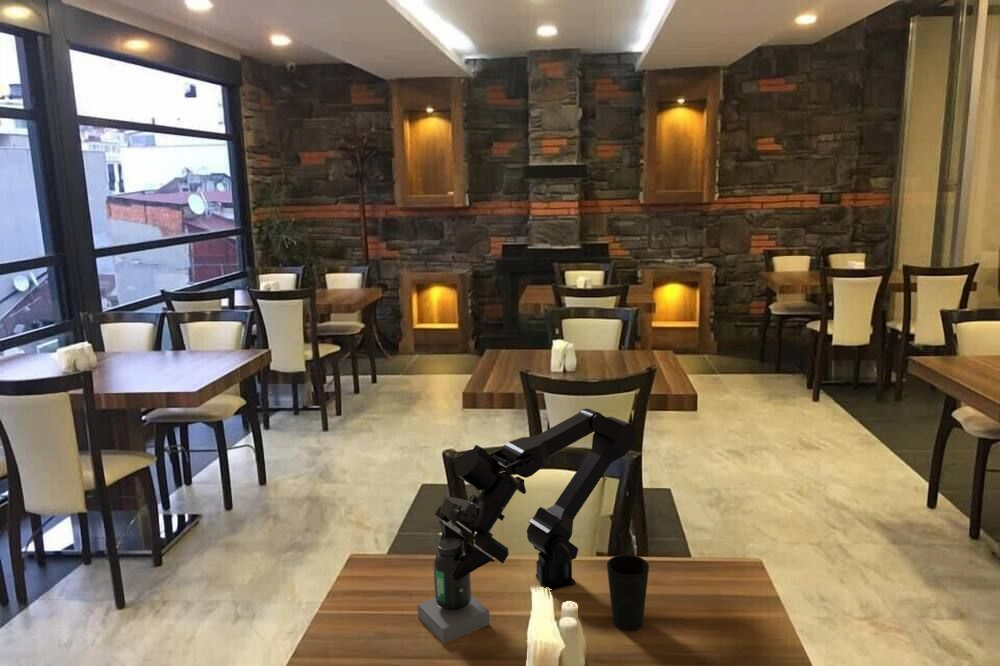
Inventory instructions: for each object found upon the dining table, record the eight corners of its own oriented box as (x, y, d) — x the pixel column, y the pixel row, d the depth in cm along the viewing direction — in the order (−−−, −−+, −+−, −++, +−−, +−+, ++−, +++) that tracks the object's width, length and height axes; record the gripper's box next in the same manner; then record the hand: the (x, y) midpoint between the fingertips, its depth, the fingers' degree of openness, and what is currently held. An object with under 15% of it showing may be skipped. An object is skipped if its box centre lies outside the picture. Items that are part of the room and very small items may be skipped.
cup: (648, 636, 136) (648, 577, 134) (606, 632, 138) (605, 573, 135) (648, 612, 144) (649, 555, 141) (608, 609, 145) (608, 553, 143)
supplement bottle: (440, 614, 138) (437, 556, 135) (431, 595, 144) (428, 538, 142) (476, 606, 140) (473, 548, 138) (465, 587, 147) (462, 531, 144)
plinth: (462, 600, 150) (462, 587, 149) (489, 624, 142) (489, 610, 141) (418, 618, 144) (417, 604, 144) (443, 643, 136) (442, 629, 136)
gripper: (440, 465, 147) (393, 534, 144) (491, 497, 132) (440, 575, 128) (476, 492, 153) (432, 558, 149) (529, 525, 137) (482, 600, 134)
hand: (445, 571), depth 140 cm, fingers closed on supplement bottle, 7 cm apart
